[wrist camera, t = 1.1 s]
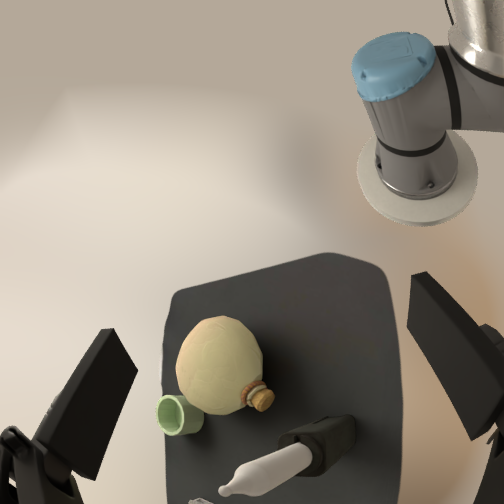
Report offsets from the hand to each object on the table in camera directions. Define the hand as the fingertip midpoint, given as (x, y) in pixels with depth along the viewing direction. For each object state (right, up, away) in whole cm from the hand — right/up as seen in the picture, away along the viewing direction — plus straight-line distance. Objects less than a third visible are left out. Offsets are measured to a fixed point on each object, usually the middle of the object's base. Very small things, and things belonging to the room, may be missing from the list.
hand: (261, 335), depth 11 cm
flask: (-2, -16, +32) cm, 36 cm away
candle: (+11, -21, +20) cm, 31 cm away
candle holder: (-12, -27, +34) cm, 45 cm away
